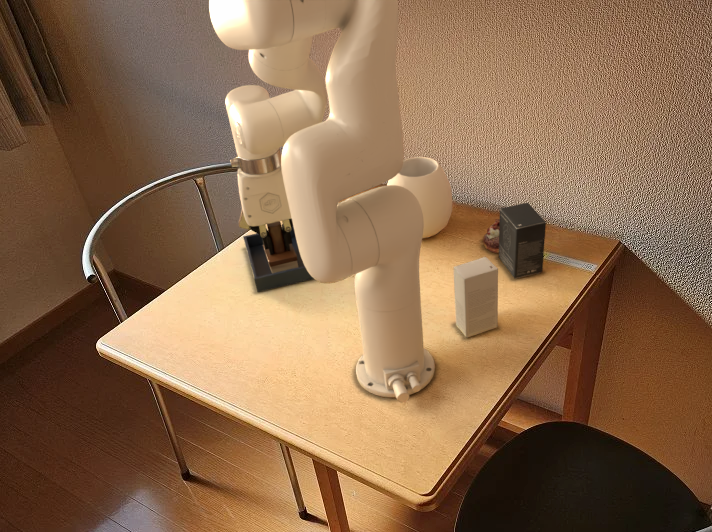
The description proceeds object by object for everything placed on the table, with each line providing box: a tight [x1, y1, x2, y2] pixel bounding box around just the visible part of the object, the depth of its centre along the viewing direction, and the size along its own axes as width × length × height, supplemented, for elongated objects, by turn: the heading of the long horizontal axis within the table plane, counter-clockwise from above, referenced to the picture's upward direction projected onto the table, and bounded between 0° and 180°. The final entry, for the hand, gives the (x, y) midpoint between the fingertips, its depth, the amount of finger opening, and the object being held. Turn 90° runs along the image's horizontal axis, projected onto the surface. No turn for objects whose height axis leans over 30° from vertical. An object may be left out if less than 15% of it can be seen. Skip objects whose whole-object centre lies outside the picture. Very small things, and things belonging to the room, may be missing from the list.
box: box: [498, 202, 547, 279], centre depth 133 cm, size 8×6×11 cm
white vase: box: [386, 156, 453, 239], centre depth 145 cm, size 13×13×14 cm
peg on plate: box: [263, 221, 298, 273], centre depth 141 cm, size 7×5×9 cm
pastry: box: [482, 218, 500, 254], centre depth 140 cm, size 8×8×5 cm
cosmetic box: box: [453, 256, 499, 339], centre depth 120 cm, size 6×4×12 cm
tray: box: [242, 226, 315, 293], centre depth 144 cm, size 16×12×3 cm
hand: (279, 248), depth 142 cm, fingers closed on peg on plate, 2 cm apart
